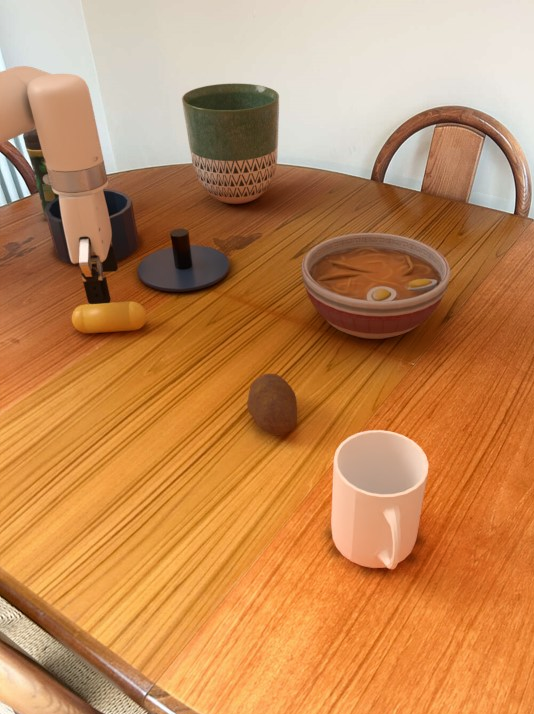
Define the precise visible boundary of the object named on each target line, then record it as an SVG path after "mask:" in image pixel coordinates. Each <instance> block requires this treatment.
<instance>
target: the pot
mask: <svg viewBox="0 0 534 714" xmlns="http://www.w3.org/2000/svg"><path fill="white" fill-rule="evenodd" d="M103 192H104V196H105V201H106V205H107V209H108V214H109V218H110V224H111V231H112V238H111V240H112V246H110V247H113V248H114V253H115V257H116V262H118V261H121V260H124V259H125V258H127V257H129V256H131V255H132V254H134V252H135V251H137V249H138V247H139V233H138V227H137V223H136V216H135V211H134V205H133V200H132V199H131V197H129V195H128V194H127V193H125V192H121V191H119V190H116V189H108V188H104V189H103ZM45 215H46V217H45V218H46V221H47V226H48V230H49V233H50V237H51V240H52V245H53V249H54V251H55V253H56V256H57V258H58V259H59V260H61V261H63V262H64V263H66V264H68V265H69V264H70V265H73V266H79V267H80V265H79V263H77V264H73V263H72V262H71V259H70V255H69V251H68V246H67V241H66V237H65V232H64V227H63V222H62V216H61V210H60V203H59V197H57V198H56V199H54V200H53V201H51V202H50V203H48V204H47V206H46V209H45ZM45 215H44V216H45ZM91 258H94V256H93V255H91ZM91 265H92V267H94V266H95V267H96V265H95V264H91Z"/></svg>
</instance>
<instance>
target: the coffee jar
mask: <svg viewBox="0 0 534 714" xmlns="http://www.w3.org/2000/svg"><path fill="white" fill-rule="evenodd" d="M22 138H23V142H24V145H25V146H24V147H25V150H26V153H27V155H28V158H29V161H30V164H31V167H32V172H33V175H34V178H35V183H36V188H37V190H38V195H39V199H40V200H39V201H40V204H41V207H42V211H43V214H44V217H45V218H46V215H45V209H46V206H47V204H48V203H50V202H51V201H53V200H54V199H56V198H57V197H59V195H58V194H56V193H54V192H53V190H52V186H51V183H50V179H49V175H48V171H47V168H46V164H45V160H44V156H43V152H42V149H41V145H40V141H39V137H38V133H37V130H36V129H35V130H32V131H29V132H26V133H24V134H22Z"/></svg>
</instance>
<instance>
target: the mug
mask: <svg viewBox="0 0 534 714" xmlns="http://www.w3.org/2000/svg"><path fill="white" fill-rule="evenodd" d="M429 466H430V465H429V461H428V457H427V455H426V453H425V452H424V450H423V448H422V447H421V446H420V445H418V443H416V442H415V440H412V439H411V438H409V437H407V436H405V435H404V434H400V433H398V432H394V431H389V430H382V429H374V430H373V429H372V430H365V431H360V432H357V433H354V434H352V435H350V436H348V437H347V438H346V439H344V440H342V442H340V443H339V445H338V447H337V448H336V450H335V453H334V456H333V468H332V474H333V475H332V495H331V496H332V497H331V515H330V516H331V518H330V519H331V520H330V526H331V527H330V528H331V538H332V541H333V544H334V546H335V548H336V549H337V551H338V552H339V553H340V554H341V555H342V556H343V557H344V558H346V559H348V561H350V562H352V563H354V564H357V565H359V566H362V567H366V568H372V569H378V568H382V569H383V568H384V569H385V568H387V569H389V570H395V569H396V568H397V566H398V564H399V563H401V562H403V561H405V559H406V558H407V557H408V556H409V555H410V554H411V553H412V551H413V549H414V547H415V544H416V542H417V537H418V532H419V525H420V520H421V516H422V515H421V514H422V508H423V504H424V497H425V491H426V485H427V480H428V474H429Z"/></svg>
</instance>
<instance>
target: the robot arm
mask: <svg viewBox="0 0 534 714" xmlns="http://www.w3.org/2000/svg"><path fill="white" fill-rule="evenodd" d="M35 129H36V130H37V133H38V137H39V141H40V145H41V149H42V152H43V156H44V160H45V164H46V168H47V171H48V175H49V179H50V183H51V186H52V190H53V192H54V193H56V194H58V195H59V203H60V210H61V216H62V222H63V227H64V232H65V237H66V241H67V246H68V251H69V255H70V259H71V262H72V263H73V264H77V263H79V265H80V266H79V265H78V266H79V268H80V270H81V271H80V275H81V280H82V284H83V287H84V291H85V295H86V299H87V304H103V303H111V302H112V299H111V294H110V290H109V285H108V281H107V277H106V276H104V273H110V272H111V273H112V272H118V261H116V257H115V253H114V248H113V247H110V246H112V240H111V238H112V231H111V224H110V218H109V214H108V209H107V205H106V201H105V196H104V192H103V189H107V187H108V186H109V181H108V175H107V170H106V165H105V160H104V156H103V151H102V150H103V149H102V146H101V140H100V135H99V131H98V127H97V120H96V116H95V112H94V106H93V101H92V97H91V93H90V89H89V86H88V84H87V82H86V80H85V79H84V78H82V77H80V76H79V75H76V74H72V73H52V72H51V73H50V72H47V71H44V70H42V69H38V68H36V67H32V66H25V65H20V66H13V67H11V68H8V69H5V70H2V71H0V145H1V144H3V143H6V142H8V141H11V140H12V139H15V138H17V137H19V136H21V135H23V134H24V133H26V132H29V131H32V130H35ZM91 255H93V256H94V258H91ZM73 264H72V265H73ZM91 264H95V265H96V266H95V267H93V266H92V265H91Z"/></svg>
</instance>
